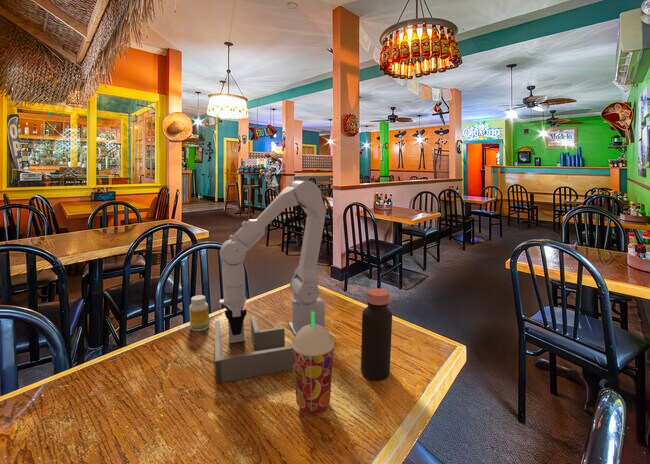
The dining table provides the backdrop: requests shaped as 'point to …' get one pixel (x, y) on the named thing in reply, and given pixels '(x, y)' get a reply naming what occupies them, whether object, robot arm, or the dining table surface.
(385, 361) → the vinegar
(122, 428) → the dining table surface
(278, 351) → the rails
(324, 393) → the smoothie
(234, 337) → the block
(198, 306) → the supplement bottle
